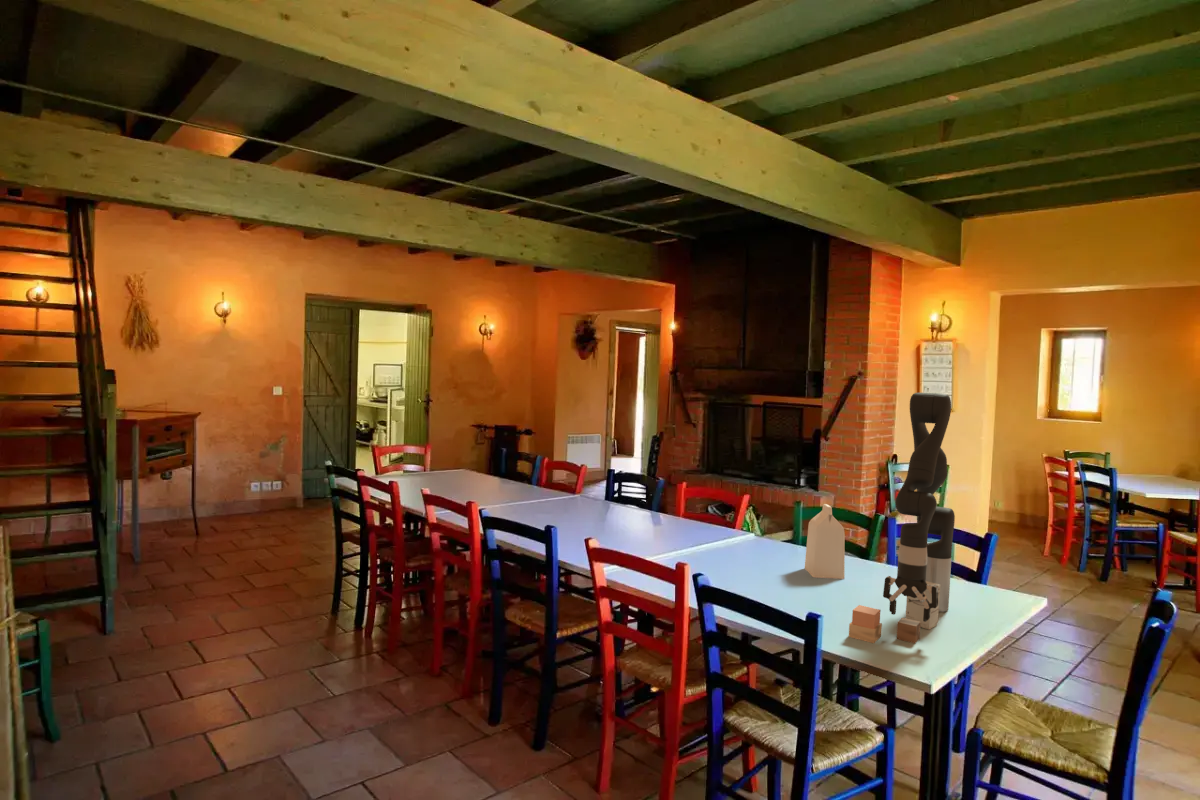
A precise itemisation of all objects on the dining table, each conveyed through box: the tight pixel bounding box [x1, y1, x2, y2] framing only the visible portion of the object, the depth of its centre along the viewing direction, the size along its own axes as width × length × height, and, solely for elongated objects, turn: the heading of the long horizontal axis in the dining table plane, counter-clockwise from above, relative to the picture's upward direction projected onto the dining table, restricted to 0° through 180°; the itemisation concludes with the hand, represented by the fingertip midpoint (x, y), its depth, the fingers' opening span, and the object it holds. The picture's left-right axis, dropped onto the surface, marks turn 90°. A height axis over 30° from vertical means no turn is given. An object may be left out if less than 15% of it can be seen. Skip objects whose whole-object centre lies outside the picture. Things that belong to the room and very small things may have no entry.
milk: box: [804, 503, 846, 580], centre depth 264 cm, size 12×12×26 cm
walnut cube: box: [896, 617, 921, 644], centre depth 199 cm, size 5×5×5 cm
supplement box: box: [905, 581, 941, 630], centre depth 212 cm, size 7×7×13 cm
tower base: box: [848, 621, 883, 644], centre depth 199 cm, size 7×7×4 cm
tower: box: [851, 604, 881, 629], centre depth 199 cm, size 6×6×4 cm
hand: (909, 617), depth 199 cm, fingers open, 8 cm apart
